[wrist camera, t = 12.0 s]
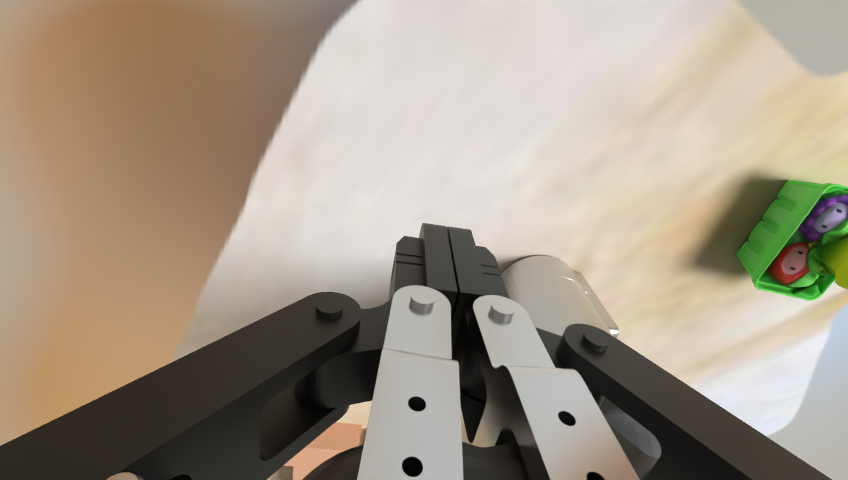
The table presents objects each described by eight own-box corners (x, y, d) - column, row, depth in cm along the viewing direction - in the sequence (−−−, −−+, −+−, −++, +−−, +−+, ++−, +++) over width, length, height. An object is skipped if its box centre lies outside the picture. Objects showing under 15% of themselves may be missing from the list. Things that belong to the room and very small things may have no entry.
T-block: (361, 424, 56) (358, 451, 53) (353, 478, 62) (349, 506, 58) (270, 416, 55) (261, 443, 52) (270, 472, 61) (262, 500, 57)
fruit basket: (784, 164, 41) (905, 211, 31) (858, 184, 42) (997, 236, 32) (717, 261, 46) (803, 329, 36) (785, 277, 47) (886, 346, 37)
